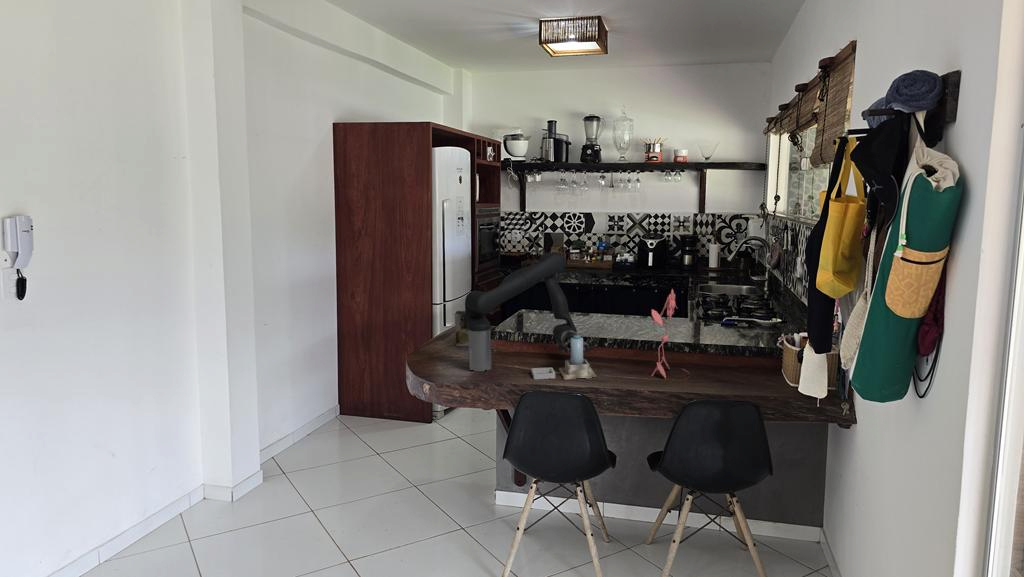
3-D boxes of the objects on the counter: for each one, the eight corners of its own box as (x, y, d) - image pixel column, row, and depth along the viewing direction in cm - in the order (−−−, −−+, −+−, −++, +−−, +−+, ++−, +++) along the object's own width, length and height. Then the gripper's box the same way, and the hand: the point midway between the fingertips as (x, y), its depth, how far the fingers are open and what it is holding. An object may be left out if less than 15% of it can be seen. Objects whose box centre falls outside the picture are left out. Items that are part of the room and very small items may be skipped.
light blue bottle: (572, 373, 288) (571, 337, 285) (570, 370, 293) (569, 334, 290) (584, 373, 288) (584, 336, 286) (581, 369, 293) (581, 333, 291)
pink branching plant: (644, 381, 278) (648, 294, 272) (658, 364, 302) (661, 283, 295) (684, 386, 272) (688, 297, 266) (695, 368, 296) (699, 286, 289)
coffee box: (476, 343, 345) (475, 310, 342) (474, 346, 338) (473, 313, 336) (457, 343, 346) (456, 310, 343) (455, 346, 339) (454, 313, 336)
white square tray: (534, 379, 285) (534, 374, 285) (531, 373, 293) (531, 368, 293) (555, 378, 286) (555, 373, 285) (552, 372, 294) (552, 367, 294)
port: (564, 379, 284) (564, 367, 283) (559, 370, 297) (558, 358, 296) (596, 378, 285) (596, 365, 284) (589, 368, 298) (589, 357, 297)
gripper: (554, 332, 302) (560, 341, 286) (587, 331, 303) (595, 340, 287) (554, 349, 303) (560, 359, 288) (587, 348, 305) (595, 358, 289)
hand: (577, 350), depth 288 cm, fingers open, 8 cm apart
